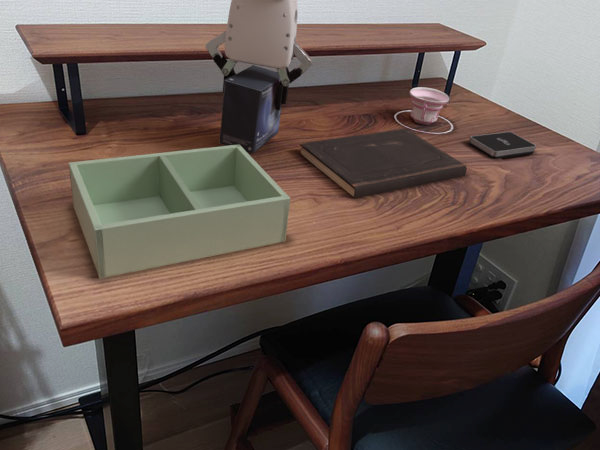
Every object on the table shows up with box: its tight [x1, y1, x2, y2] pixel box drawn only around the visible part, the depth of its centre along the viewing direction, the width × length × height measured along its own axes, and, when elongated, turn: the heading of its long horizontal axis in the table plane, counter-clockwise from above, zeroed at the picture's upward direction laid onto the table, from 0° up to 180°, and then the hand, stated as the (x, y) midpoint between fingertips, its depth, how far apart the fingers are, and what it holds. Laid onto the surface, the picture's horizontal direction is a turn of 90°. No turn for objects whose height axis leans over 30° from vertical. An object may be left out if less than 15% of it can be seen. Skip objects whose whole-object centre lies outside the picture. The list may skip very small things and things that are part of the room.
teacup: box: [393, 86, 454, 135], centre depth 110 cm, size 12×12×6 cm
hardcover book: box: [299, 128, 468, 200], centre depth 92 cm, size 16×23×2 cm
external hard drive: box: [468, 131, 537, 160], centre depth 104 cm, size 7×11×2 cm, turn 118°
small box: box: [218, 64, 283, 154], centre depth 88 cm, size 11×6×10 cm, turn 160°
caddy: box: [68, 145, 291, 280], centre depth 68 cm, size 22×16×7 cm
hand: (254, 102), depth 87 cm, fingers closed on small box, 7 cm apart
